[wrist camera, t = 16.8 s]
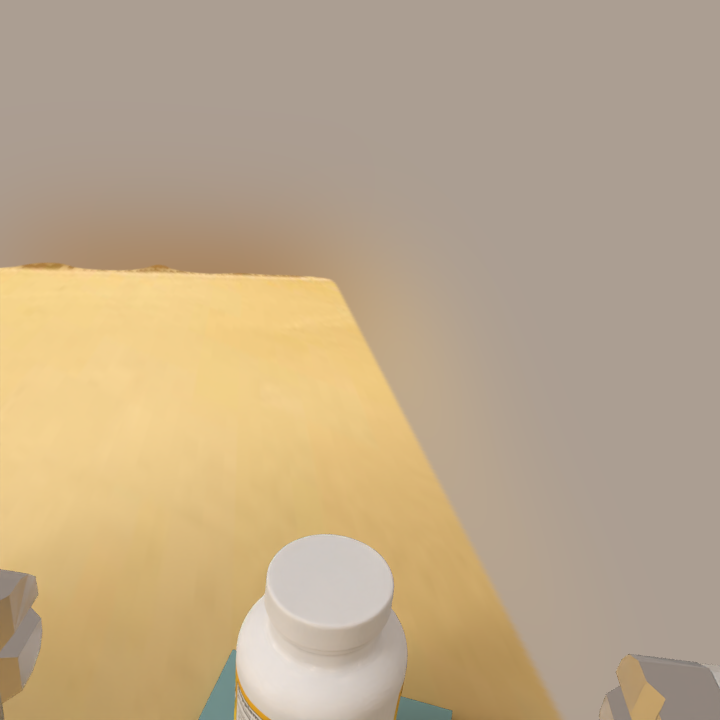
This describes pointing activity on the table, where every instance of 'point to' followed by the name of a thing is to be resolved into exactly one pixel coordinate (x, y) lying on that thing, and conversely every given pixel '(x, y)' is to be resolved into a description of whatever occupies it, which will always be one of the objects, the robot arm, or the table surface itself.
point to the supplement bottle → (322, 637)
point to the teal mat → (220, 705)
